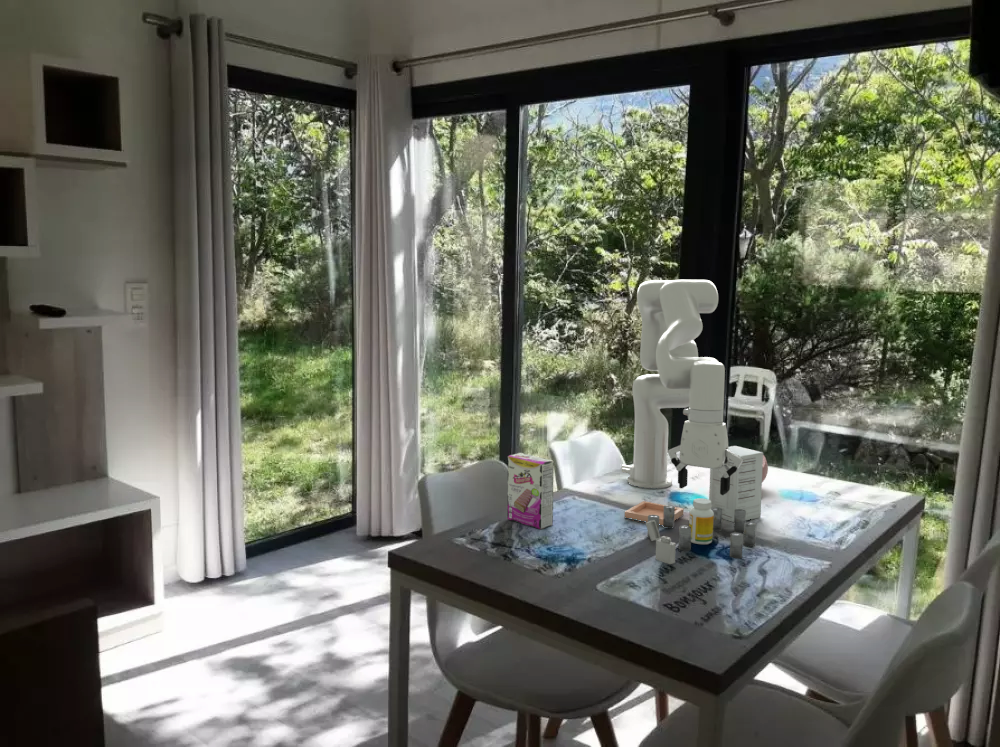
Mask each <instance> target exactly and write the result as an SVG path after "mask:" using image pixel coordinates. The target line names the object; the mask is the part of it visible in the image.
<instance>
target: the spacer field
mask: <svg viewBox="0 0 1000 747" xmlns="http://www.w3.org/2000/svg"><path fill="white" fill-rule="evenodd" d="M665 505H666V506H664V514H663V526H664V527H668V528H672V527H674V528H675V521H674V514H675V507H676V506H674V505H671V504H669V505H667V504H665ZM711 510H712V511H713V513H714V519H713V532H714V531H715V532H721V531H722V528H723V518H722V509H721V508H711ZM745 519H746V511H745V510H742V509H736V510H735V511H734V522H733V532H731V533H730V541H729V557H730V558H731V559H736V560H737V559H742V558H743V549H744V548H743V547H744V545H745V547H748V546H749V547H750V548H753V546H754V547H756V537H757V536H756V535H757V534H756V533H757V523H756V522H754V521H753V522H752V521H745ZM652 520H655V522H656V525H657V528H658V531H659V532H660V526H659V516H658V515H648V522H649V521H652ZM663 526H662V527H663ZM664 527H663V528H664ZM668 528H667V529H668ZM678 528H679V530H678V549H679V550H681V551H683V552H686V551H687V552H688V551H691V548H692V547H691V546H692V542H691V527H690V526H689V525H687V524H686V525H679V527H678ZM672 529H673V528H672ZM646 532H647V533H646V534H647V535H646V536H648V537H649V538H648V537H647V538H648V539H650V536H649V533H648V530H647V531H646ZM743 532H744V533H743Z"/></svg>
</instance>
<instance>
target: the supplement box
mask: <svg viewBox="0 0 1000 747" xmlns="http://www.w3.org/2000/svg"><path fill="white" fill-rule="evenodd" d="M728 450H730V451H731V452H733V453H735V454H736V455H738V456H739V457H741V458H742V459H743V462H742V464H741V465H740V467H739V469H738V470H737V471H736V472H735V473H733V474H732V475H731V476H730V490H729V491H728V492H727V493H726V494H724V495H721V494H720V481H721V477H723V475H722V474H721V472H720V471H719V470H718V469H710V468H709V495H708V497H709V498H708V500H710V501H711V508H721V509H722V520H726V521H729V522H732V523H734V511H735V510H736V509H742V510H745V511H746V519H745V522H747V521H750V519H751V520H754V519H759V518H761V514H762V513H761V512H762V510H761V509H762V490H763V489H762V488H763V487H762V486H763V482H762V468H763V455H764V452H763V451H759V450H754V449H749V448H746V447H742V446H737V445H731V446H728ZM733 464H734V461H733V460H731V459H730V458H728V463H727V465H728V467H729V468H731V467H732V466H733ZM711 508H710V509H711Z"/></svg>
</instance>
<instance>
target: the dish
mask: <svg viewBox="0 0 1000 747" xmlns="http://www.w3.org/2000/svg"><path fill="white" fill-rule="evenodd" d="M666 505H667V504H662V503H655V502H650V501H646V500H642V501H641V502H639V503H638V504H635V505H634V506H632V507H630V508H629V509H627V510H625V511H624V518H625V517H626V518H632V519H637V520H641V521H646V522H648V515H658V516H659V524H660V525H663V514H664V506H666ZM674 507H675V514H674V522H675V520H676V519H677V520H678V518H679V517H680V518H682V517H683V516H684V509H685V508H682V507H678V506H677V507H676V506H674ZM682 515H683V516H682ZM681 516H682V517H681ZM680 518H679V519H680ZM677 520H676V521H677Z"/></svg>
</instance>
